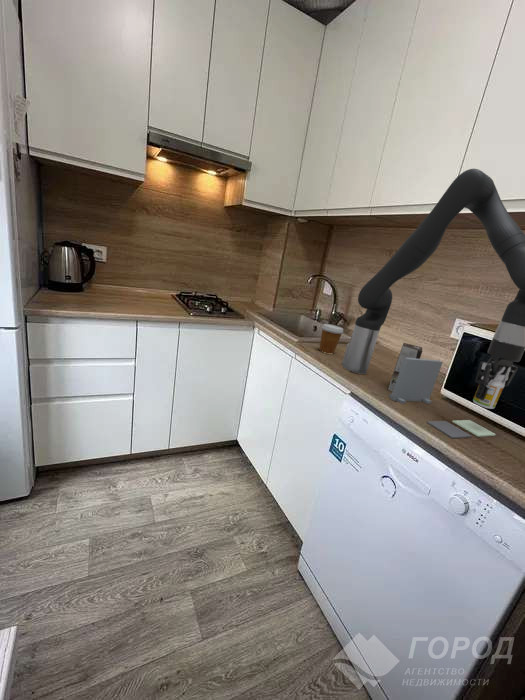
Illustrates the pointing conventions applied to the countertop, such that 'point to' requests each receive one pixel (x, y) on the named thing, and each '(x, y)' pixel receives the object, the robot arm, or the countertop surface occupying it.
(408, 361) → the screen
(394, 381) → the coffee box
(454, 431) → the grey pad
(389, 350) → the countertop surface
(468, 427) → the green pad
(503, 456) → the countertop surface
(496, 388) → the supplement bottle
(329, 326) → the disposable coffee cup
